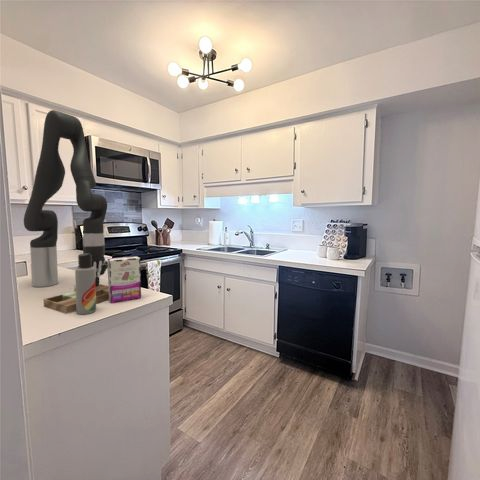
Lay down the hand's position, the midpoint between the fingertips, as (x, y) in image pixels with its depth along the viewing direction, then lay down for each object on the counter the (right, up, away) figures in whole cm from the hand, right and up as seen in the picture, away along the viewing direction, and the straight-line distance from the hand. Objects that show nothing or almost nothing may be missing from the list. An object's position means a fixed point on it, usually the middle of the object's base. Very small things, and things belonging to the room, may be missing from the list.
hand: (95, 286), depth 104 cm
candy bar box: (+14, -5, -4) cm, 15 cm away
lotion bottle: (+7, -6, -17) cm, 19 cm away
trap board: (0, -4, -7) cm, 8 cm away
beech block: (-2, -1, -4) cm, 4 cm away
